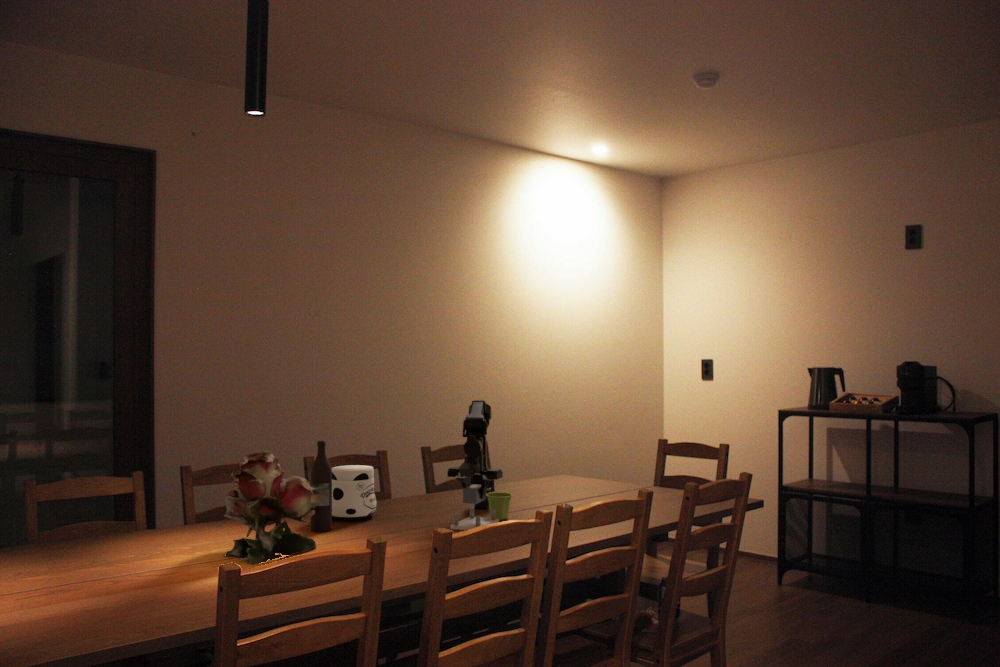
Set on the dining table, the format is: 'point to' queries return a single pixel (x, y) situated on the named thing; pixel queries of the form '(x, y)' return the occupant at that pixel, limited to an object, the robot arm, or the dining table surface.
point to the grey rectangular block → (473, 494)
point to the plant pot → (499, 504)
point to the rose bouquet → (268, 509)
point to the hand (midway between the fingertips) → (474, 498)
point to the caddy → (473, 520)
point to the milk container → (353, 492)
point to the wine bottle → (322, 491)
